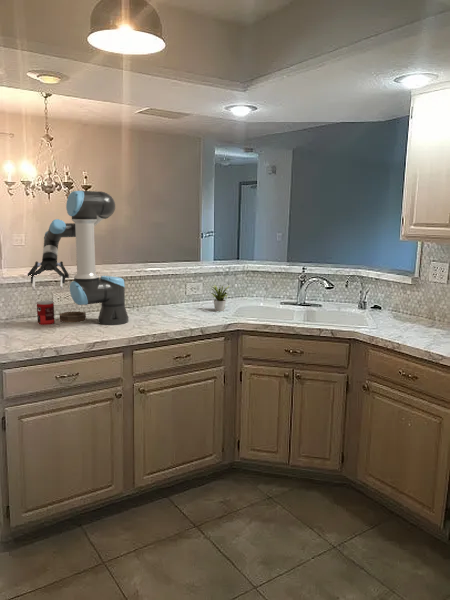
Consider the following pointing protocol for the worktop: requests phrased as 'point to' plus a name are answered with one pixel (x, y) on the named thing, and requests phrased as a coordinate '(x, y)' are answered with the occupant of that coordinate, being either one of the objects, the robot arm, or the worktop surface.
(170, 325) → the worktop surface
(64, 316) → the walnut tray
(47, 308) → the canned food
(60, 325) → the worktop surface
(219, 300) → the house plant
